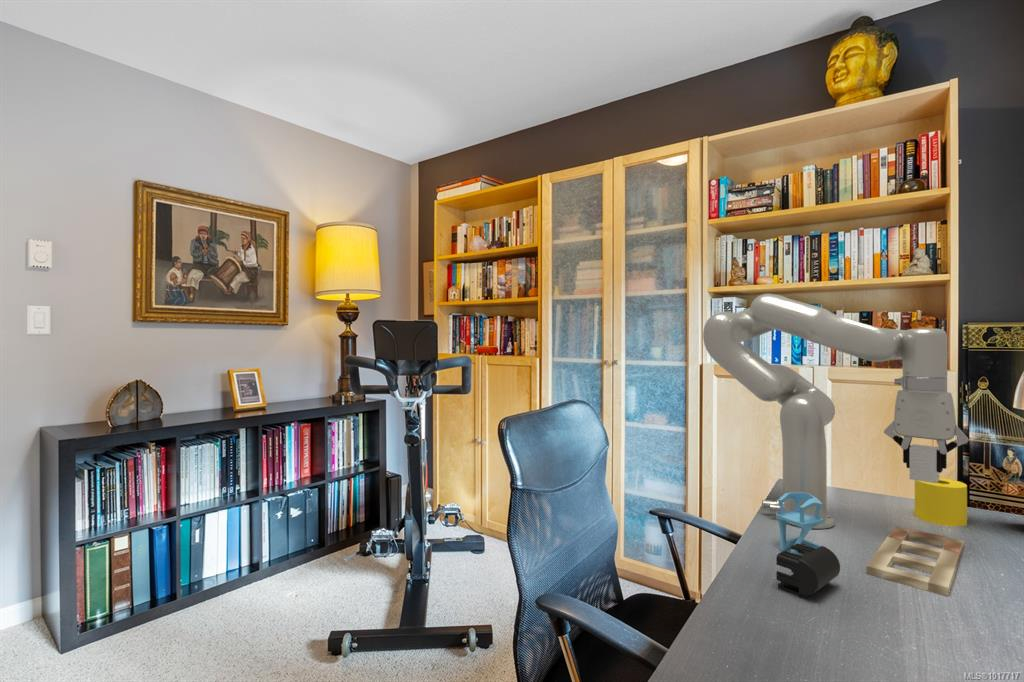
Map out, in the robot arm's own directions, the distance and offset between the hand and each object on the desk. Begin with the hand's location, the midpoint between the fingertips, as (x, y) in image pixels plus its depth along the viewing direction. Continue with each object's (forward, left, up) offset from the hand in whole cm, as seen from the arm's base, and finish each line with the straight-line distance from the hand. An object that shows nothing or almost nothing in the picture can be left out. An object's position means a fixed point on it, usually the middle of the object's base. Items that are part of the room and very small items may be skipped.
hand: (924, 468), depth 109 cm
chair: (-26, -9, -17) cm, 33 cm away
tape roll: (+13, +21, -18) cm, 30 cm away
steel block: (0, 0, -2) cm, 2 cm away
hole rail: (-4, -8, -17) cm, 19 cm away
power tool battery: (-29, -27, -18) cm, 43 cm away
